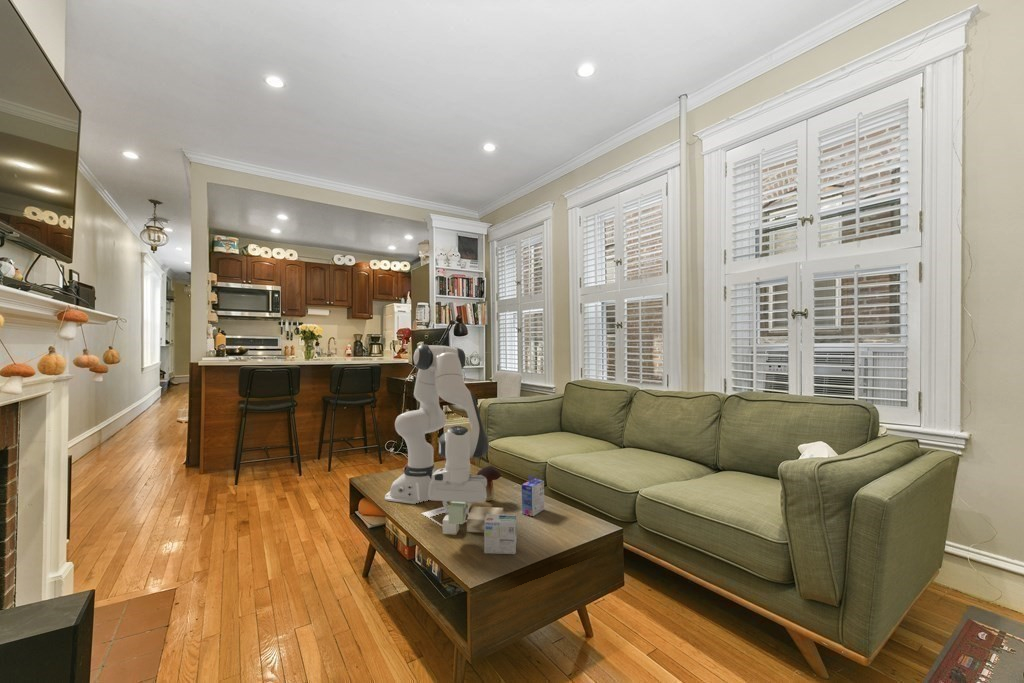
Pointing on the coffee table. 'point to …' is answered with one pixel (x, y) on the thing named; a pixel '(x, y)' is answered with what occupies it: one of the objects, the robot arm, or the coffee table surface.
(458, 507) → the sage block
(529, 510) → the ink cartridge box
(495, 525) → the light bulb box
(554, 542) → the coffee table surface
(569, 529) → the coffee table surface
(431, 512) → the photo frame
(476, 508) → the birch block
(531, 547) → the coffee table surface
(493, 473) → the decorative mushroom
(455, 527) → the off-white block
